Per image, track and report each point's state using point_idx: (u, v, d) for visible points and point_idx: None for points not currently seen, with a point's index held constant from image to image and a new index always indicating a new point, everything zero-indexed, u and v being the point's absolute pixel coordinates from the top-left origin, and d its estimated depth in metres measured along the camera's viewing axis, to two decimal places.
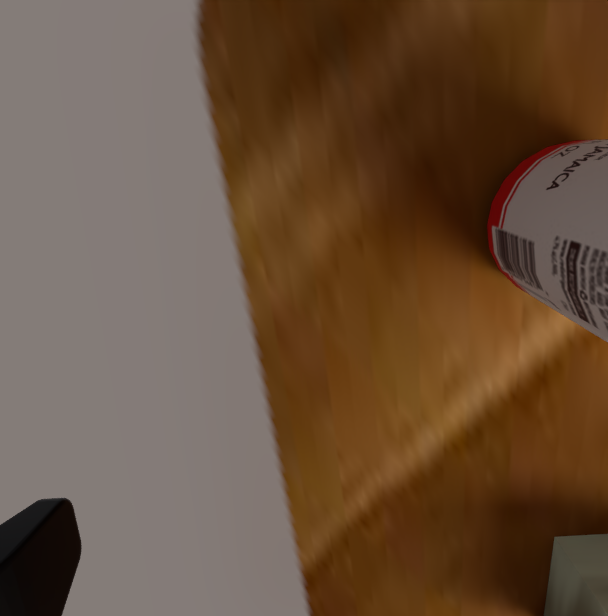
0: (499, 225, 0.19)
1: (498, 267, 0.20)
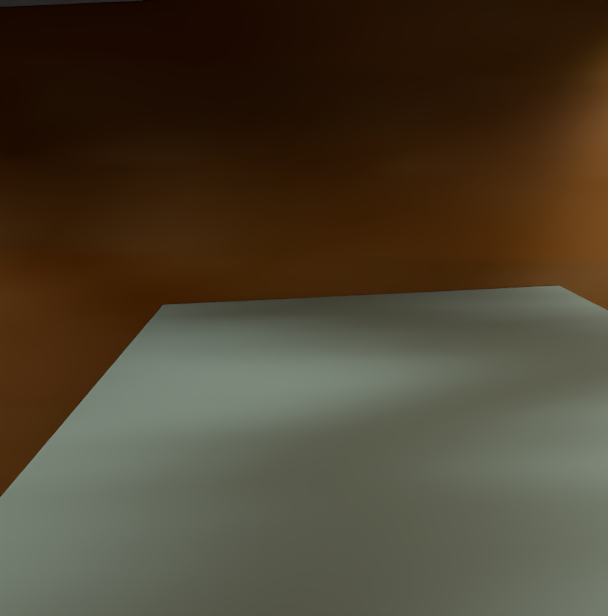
0: None
1: None
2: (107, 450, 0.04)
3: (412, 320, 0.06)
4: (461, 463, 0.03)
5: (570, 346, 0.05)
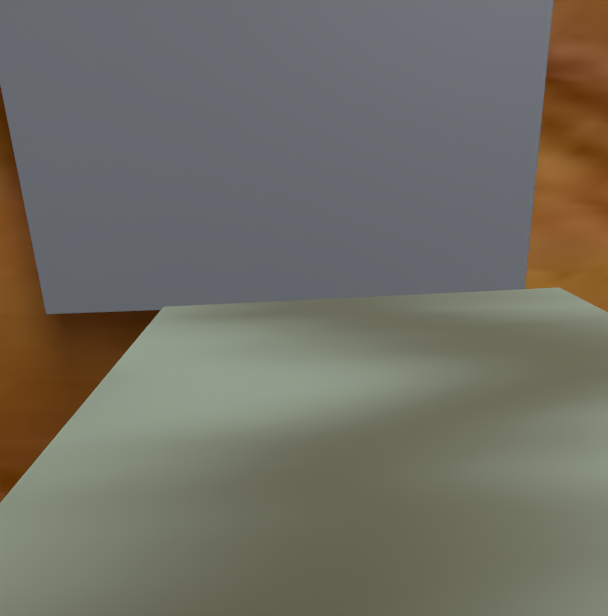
0: None
1: None
2: (108, 454, 0.04)
3: (413, 322, 0.06)
4: (463, 468, 0.03)
5: (571, 349, 0.05)
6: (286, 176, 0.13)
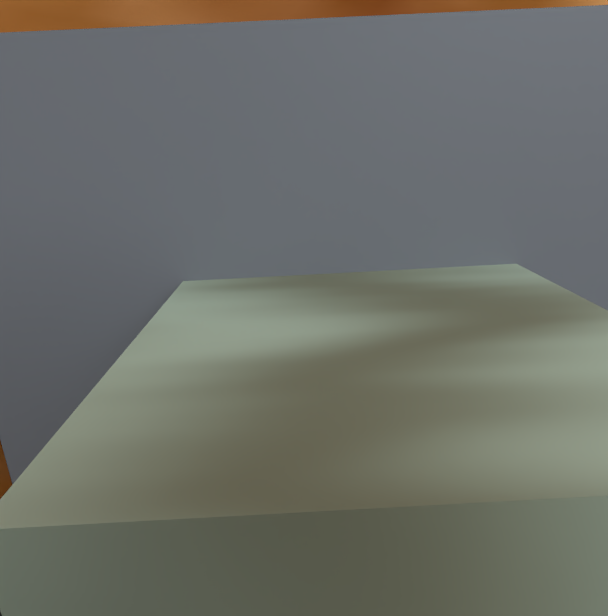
0: None
1: None
2: (156, 371, 0.05)
3: (390, 289, 0.08)
4: (412, 374, 0.05)
5: (511, 305, 0.07)
6: None
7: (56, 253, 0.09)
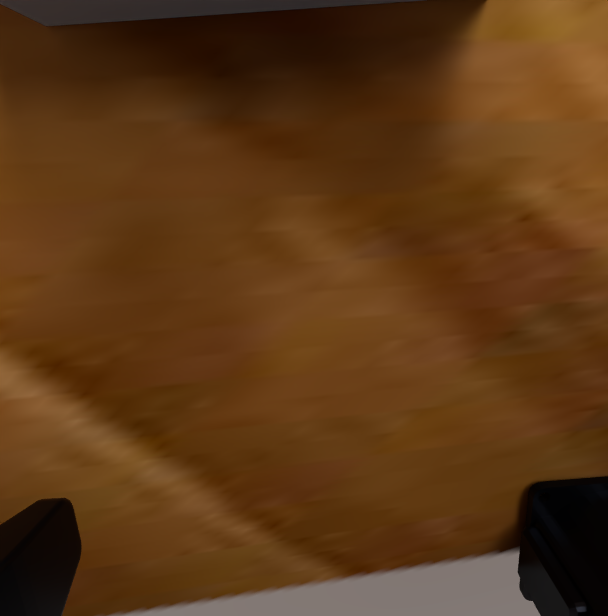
0: None
1: None
2: None
3: None
4: None
5: None
6: None
7: None
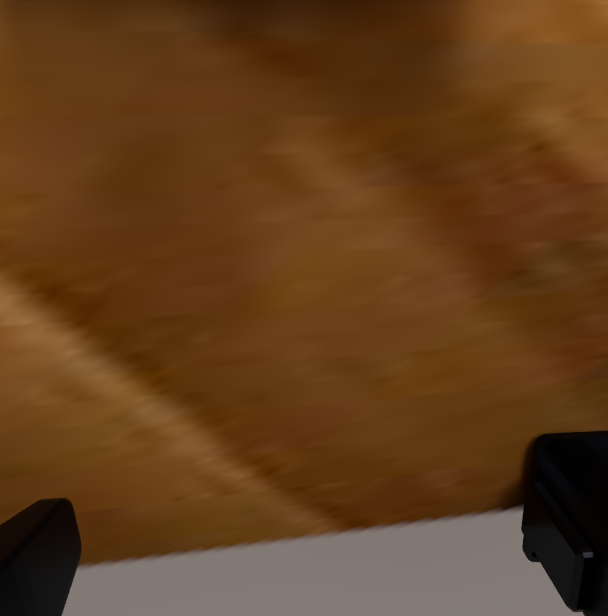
0: None
1: None
2: None
3: None
4: None
5: None
6: None
7: None
